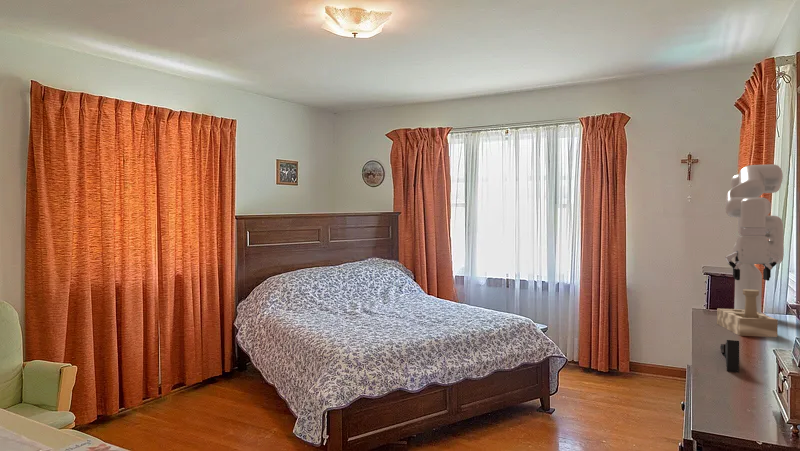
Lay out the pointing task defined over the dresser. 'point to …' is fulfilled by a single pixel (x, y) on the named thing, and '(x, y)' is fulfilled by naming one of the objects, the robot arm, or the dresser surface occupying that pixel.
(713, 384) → the dresser surface
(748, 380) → the dresser surface
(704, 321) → the dresser surface
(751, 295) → the handle
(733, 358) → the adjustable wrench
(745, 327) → the socket block
